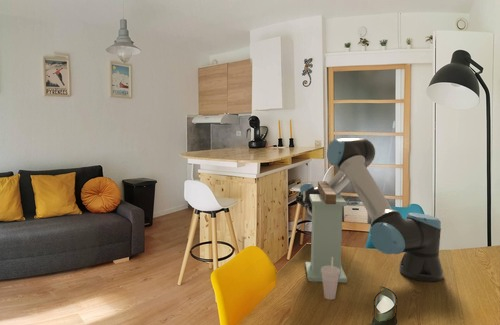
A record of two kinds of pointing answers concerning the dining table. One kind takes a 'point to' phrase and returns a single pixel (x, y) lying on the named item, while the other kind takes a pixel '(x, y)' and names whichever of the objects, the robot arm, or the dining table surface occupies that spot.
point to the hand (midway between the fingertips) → (320, 194)
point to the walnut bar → (326, 192)
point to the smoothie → (330, 280)
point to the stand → (325, 237)
